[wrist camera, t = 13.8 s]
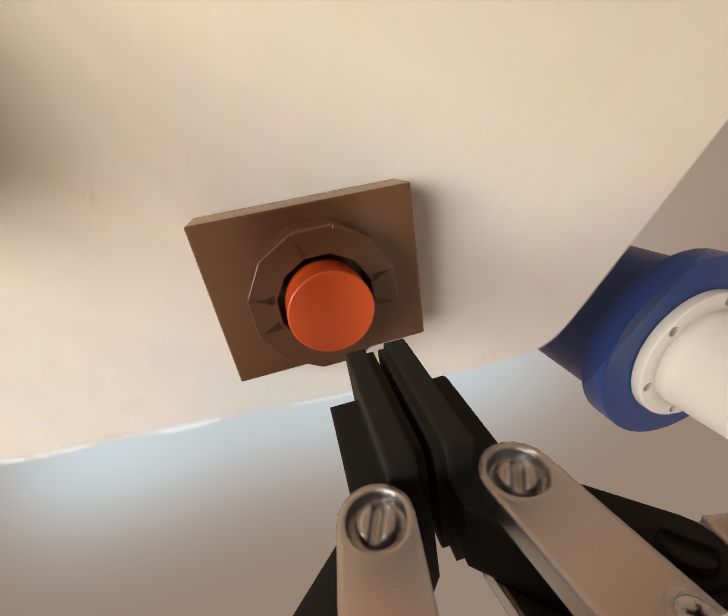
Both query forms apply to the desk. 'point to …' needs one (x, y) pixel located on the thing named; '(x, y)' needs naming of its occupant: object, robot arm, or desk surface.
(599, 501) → the robot arm
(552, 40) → the desk surface
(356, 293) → the timer button
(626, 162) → the desk surface
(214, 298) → the brown button mount
